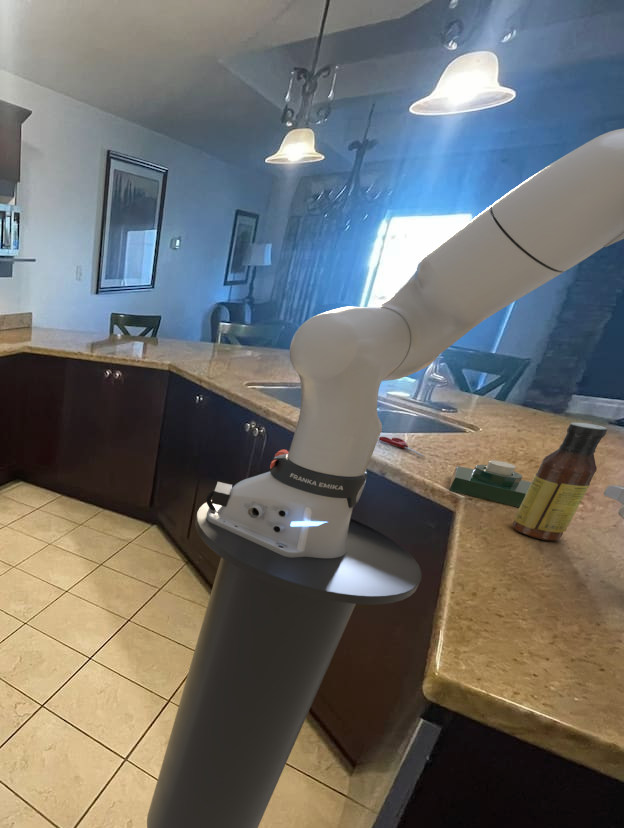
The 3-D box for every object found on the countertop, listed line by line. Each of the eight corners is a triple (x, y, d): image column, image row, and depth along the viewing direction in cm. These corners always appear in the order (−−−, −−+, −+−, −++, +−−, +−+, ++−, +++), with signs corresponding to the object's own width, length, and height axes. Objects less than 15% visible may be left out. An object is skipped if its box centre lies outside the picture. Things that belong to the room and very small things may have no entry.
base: (449, 490, 103) (459, 468, 101) (451, 477, 110) (460, 457, 108) (529, 510, 96) (542, 486, 94) (526, 495, 102) (538, 473, 100)
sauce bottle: (562, 536, 86) (627, 428, 78) (555, 546, 82) (623, 434, 74) (511, 521, 91) (568, 418, 83) (503, 529, 87) (560, 423, 79)
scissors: (397, 440, 133) (399, 437, 133) (434, 459, 121) (436, 455, 120) (376, 439, 134) (378, 435, 133) (410, 457, 121) (412, 453, 121)
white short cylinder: (484, 472, 101) (489, 463, 100) (484, 467, 103) (489, 458, 103) (511, 478, 98) (516, 469, 97) (510, 473, 101) (515, 464, 100)
